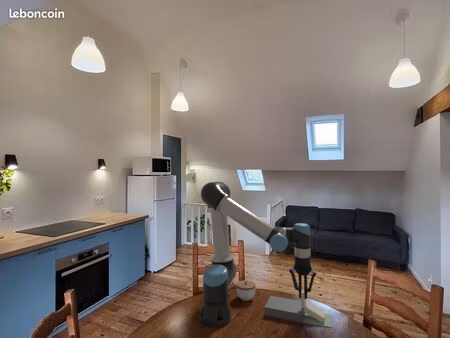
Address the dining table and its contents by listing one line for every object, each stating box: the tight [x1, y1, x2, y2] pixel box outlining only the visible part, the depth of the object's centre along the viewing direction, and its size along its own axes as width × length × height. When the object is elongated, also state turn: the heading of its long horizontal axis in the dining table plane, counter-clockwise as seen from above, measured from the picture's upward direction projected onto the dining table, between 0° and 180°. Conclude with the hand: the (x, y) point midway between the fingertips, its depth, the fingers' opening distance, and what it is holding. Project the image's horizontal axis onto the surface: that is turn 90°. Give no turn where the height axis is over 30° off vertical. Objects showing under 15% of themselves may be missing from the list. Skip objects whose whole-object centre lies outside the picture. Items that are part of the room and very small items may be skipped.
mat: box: [303, 312, 332, 329], centre depth 124 cm, size 12×11×1 cm
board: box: [264, 295, 306, 324], centre depth 130 cm, size 18×13×4 cm
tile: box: [303, 300, 326, 322], centre depth 125 cm, size 9×7×2 cm
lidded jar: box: [235, 279, 257, 302], centre depth 145 cm, size 11×11×9 cm
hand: (303, 305), depth 126 cm, fingers closed
